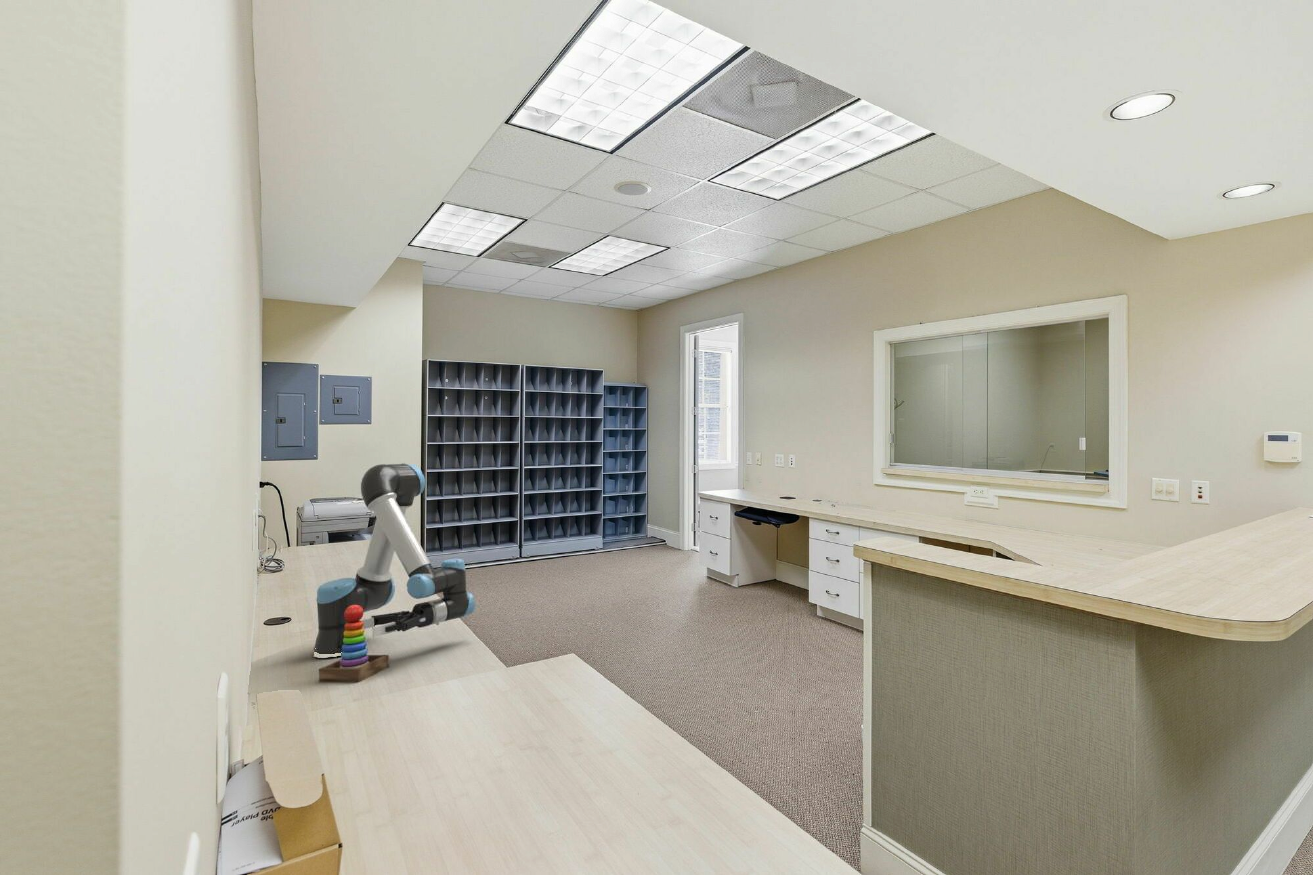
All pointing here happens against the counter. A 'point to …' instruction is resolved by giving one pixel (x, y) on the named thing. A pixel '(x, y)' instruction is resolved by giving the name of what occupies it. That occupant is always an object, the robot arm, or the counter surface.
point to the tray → (353, 670)
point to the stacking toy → (354, 639)
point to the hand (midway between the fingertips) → (362, 629)
